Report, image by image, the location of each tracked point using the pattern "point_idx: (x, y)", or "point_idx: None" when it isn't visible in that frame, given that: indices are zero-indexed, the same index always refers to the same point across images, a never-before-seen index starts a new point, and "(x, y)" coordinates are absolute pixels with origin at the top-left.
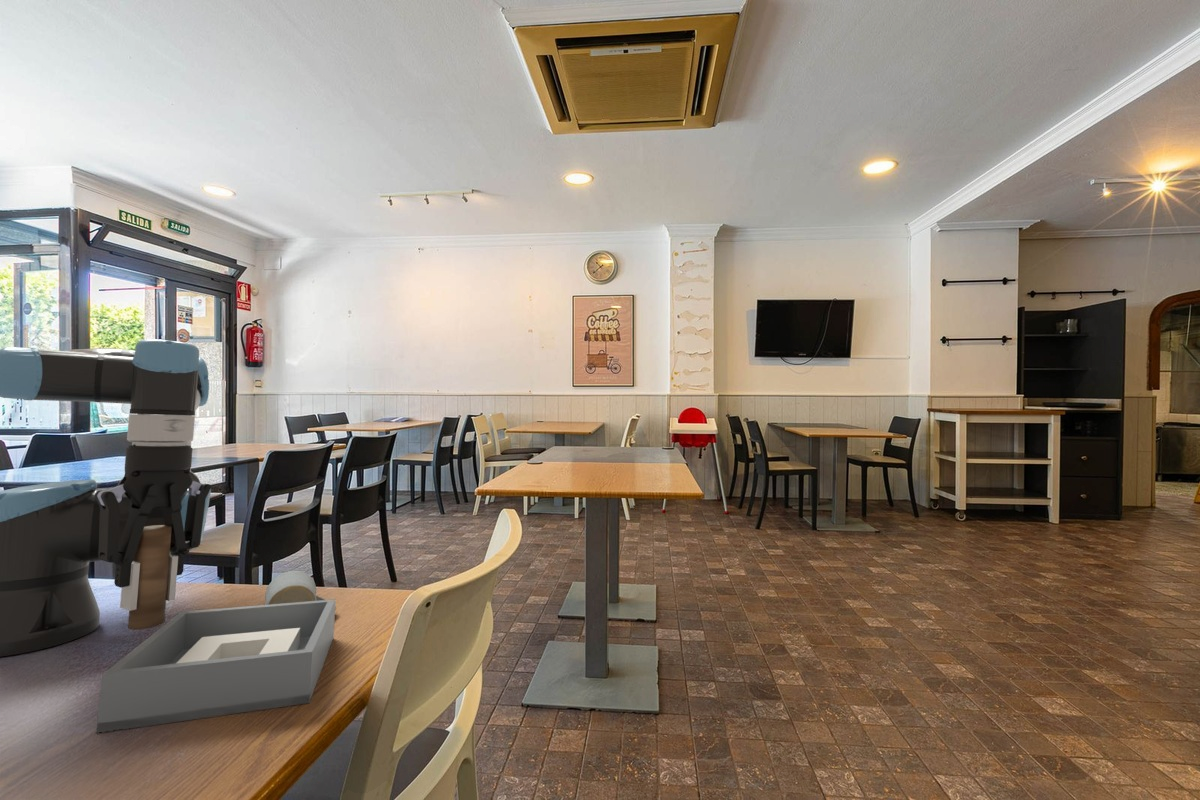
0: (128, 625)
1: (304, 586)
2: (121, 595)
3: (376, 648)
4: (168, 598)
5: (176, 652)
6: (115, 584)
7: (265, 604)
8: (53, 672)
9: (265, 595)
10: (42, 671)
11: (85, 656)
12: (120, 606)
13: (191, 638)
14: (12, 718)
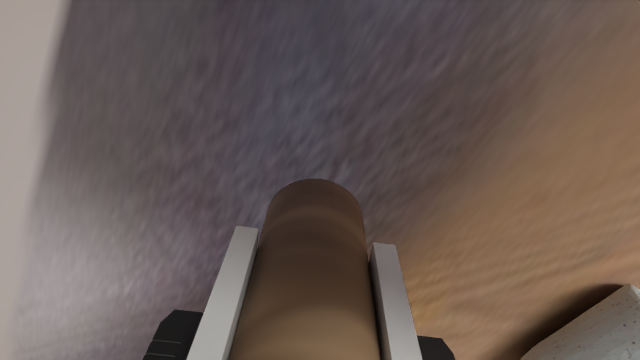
0: (267, 211)
1: None
2: (225, 258)
3: None
4: None
5: None
6: (166, 321)
7: (577, 350)
8: (131, 124)
9: (638, 326)
10: (117, 88)
11: (220, 82)
12: (235, 230)
13: None
14: (23, 284)
